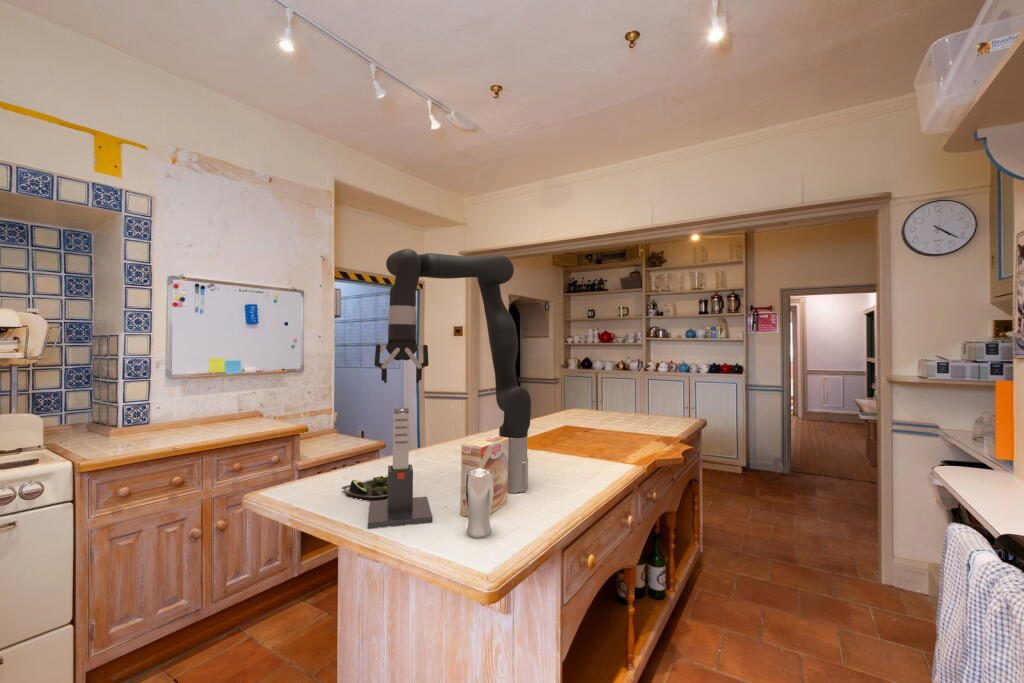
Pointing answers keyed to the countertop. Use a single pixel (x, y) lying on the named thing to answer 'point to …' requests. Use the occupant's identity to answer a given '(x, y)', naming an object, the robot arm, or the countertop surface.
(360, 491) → the salad plate
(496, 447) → the coffeecake box
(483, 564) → the countertop surface
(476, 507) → the beer glass
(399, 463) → the column
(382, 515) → the stand
